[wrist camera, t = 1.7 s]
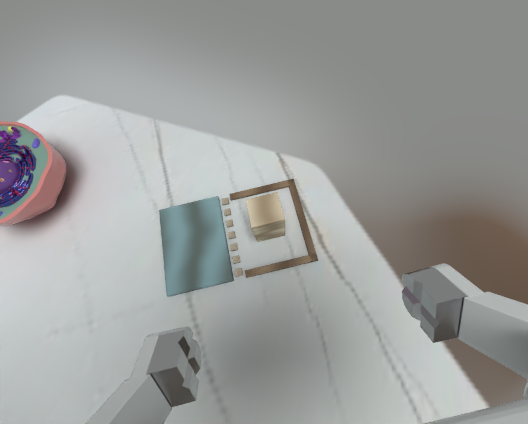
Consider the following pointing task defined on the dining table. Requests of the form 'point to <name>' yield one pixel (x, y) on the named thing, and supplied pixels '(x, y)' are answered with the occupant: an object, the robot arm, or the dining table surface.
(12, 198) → the cell model
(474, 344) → the robot arm
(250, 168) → the dining table surface
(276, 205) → the birch stub block
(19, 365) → the dining table surface
